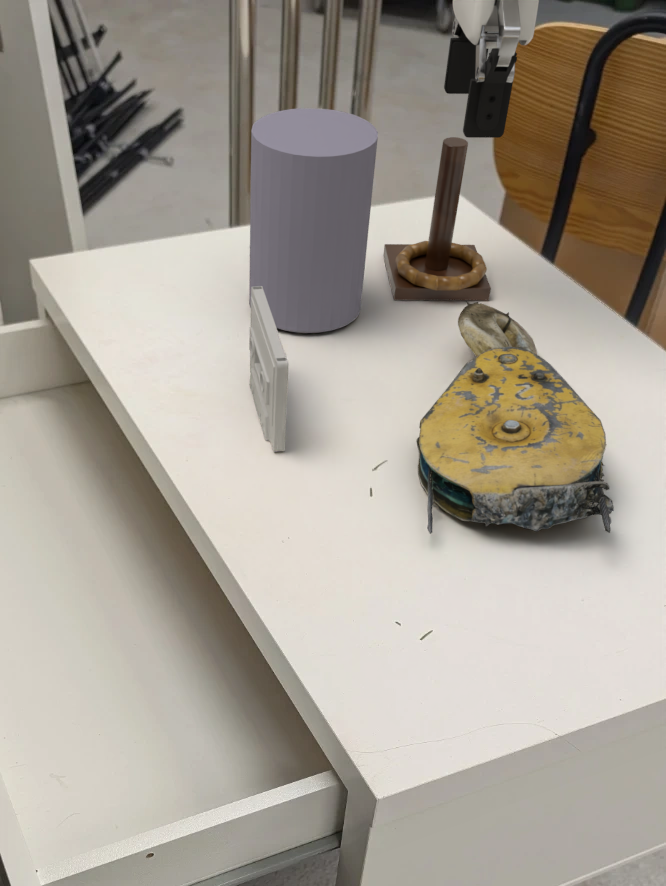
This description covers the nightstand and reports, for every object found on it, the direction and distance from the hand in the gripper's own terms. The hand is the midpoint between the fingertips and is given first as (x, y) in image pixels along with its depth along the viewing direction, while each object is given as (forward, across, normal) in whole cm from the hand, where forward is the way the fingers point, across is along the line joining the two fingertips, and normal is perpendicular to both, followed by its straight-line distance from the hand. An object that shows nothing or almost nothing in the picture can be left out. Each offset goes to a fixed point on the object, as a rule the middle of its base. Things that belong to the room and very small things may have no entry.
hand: (472, 113), depth 85 cm
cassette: (+16, -19, +18) cm, 30 cm away
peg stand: (+16, +4, 0) cm, 16 cm away
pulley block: (+16, -23, -1) cm, 28 cm away
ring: (+14, +3, 0) cm, 14 cm away
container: (+16, -2, +13) cm, 21 cm away
